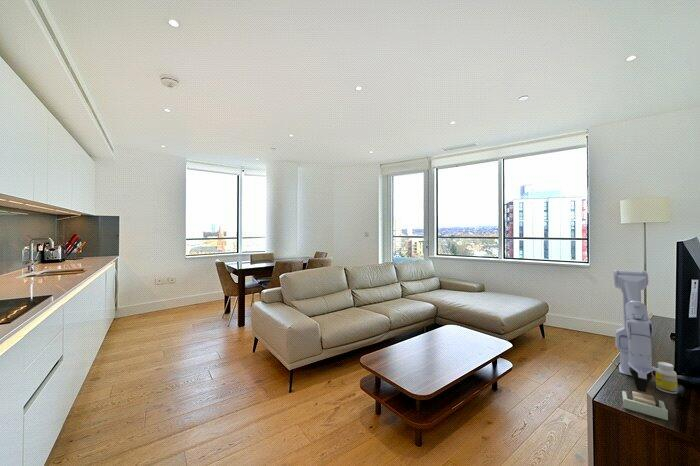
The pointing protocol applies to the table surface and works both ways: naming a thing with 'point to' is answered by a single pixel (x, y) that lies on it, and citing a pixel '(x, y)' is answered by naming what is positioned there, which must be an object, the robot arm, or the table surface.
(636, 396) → the birch block
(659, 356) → the table surface
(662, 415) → the dock
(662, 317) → the table surface
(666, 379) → the supplement bottle
